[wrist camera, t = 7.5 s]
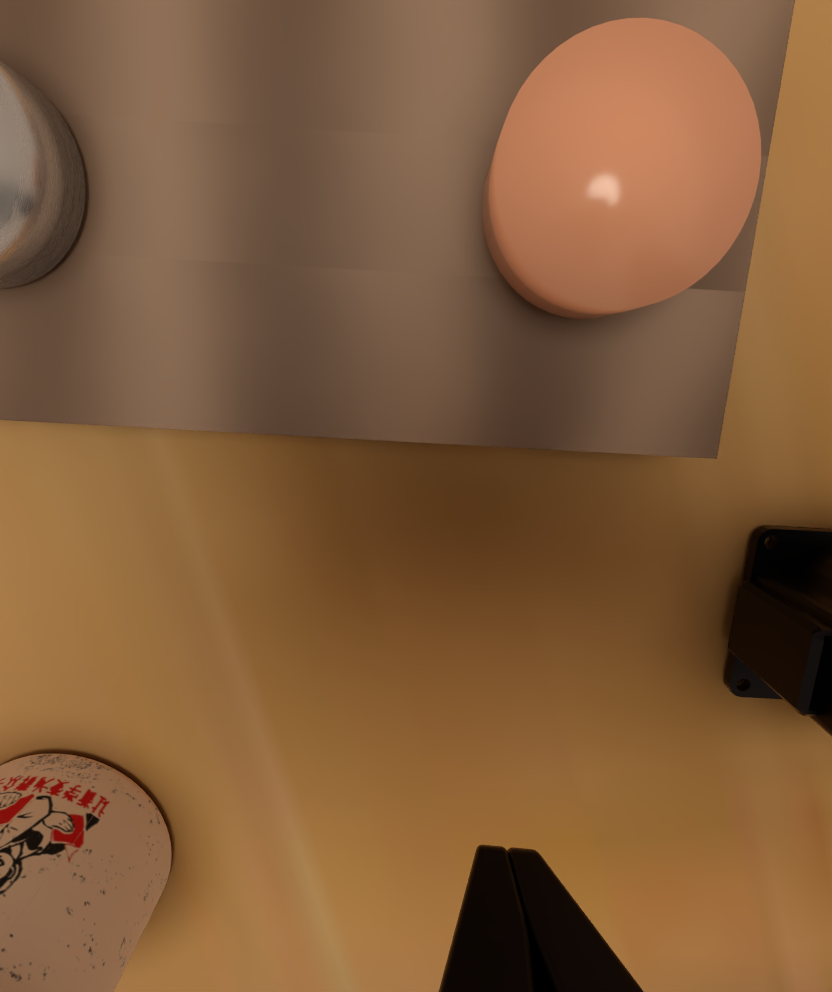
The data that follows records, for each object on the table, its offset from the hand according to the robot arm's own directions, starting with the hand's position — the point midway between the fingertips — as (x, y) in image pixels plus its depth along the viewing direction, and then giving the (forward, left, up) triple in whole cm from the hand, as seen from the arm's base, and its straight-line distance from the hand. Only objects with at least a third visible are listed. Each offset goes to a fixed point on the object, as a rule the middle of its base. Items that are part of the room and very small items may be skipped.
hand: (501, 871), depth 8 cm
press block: (+5, -11, -13) cm, 18 cm away
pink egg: (-2, -11, -12) cm, 16 cm away
